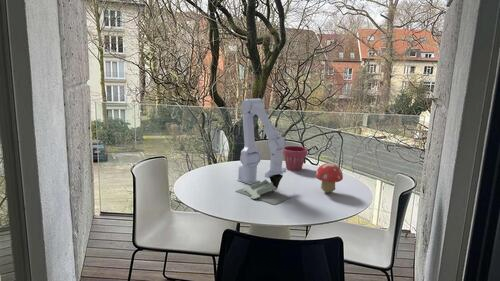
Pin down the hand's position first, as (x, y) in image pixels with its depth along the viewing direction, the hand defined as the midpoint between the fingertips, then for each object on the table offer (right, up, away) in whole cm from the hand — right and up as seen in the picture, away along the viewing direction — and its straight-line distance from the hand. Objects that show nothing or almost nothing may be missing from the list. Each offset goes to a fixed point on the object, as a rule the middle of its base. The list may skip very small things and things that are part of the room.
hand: (274, 188), depth 185 cm
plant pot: (+14, +6, +41) cm, 44 cm away
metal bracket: (-7, -2, -3) cm, 8 cm away
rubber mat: (-6, -2, -5) cm, 8 cm away
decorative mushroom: (+26, -2, +2) cm, 27 cm away
